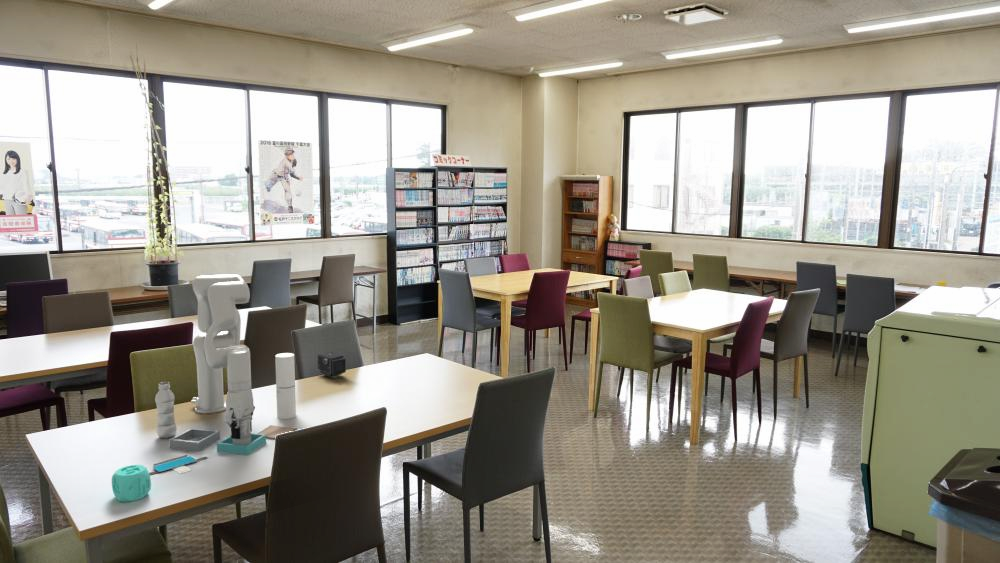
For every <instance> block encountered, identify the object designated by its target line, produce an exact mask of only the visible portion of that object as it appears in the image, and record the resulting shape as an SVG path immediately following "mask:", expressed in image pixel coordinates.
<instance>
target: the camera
mask: <svg viewBox="0 0 1000 563" xmlns="http://www.w3.org/2000/svg"><path fill="white" fill-rule="evenodd" d="M346 360H347V359H346V358H345V357H344V355H342V354H339V353H336V352H333V351H330V352H326V353H320V354H317V369H318V370H319V371H320V373H321V374H322V375H325V376H326V377H330V378H331V379H336V378H338V376H341V375H342V374H344V373H346V371H347V370H346V368H347V366H346V365H347V364H346Z"/></svg>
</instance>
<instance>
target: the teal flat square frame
mask: <svg viewBox="0 0 1000 563" xmlns="http://www.w3.org/2000/svg"><path fill="white" fill-rule="evenodd" d="M266 443H267V438H266V435H264V434H257V433H255V432H254V433H252V432H251V443H250V444H248V445H246V446H245V445H236V444H233V439H232V438H231V434H230V435H229V436H227V437H226V438H223V439H222V440H219V442H217V443H216V452H217V453H223V454H224V453H226V454H233V455H242V456H243V455H244V456H248V455H249V454H251V453H253V452H254V451H256V450H257V449H259V448H261V447H262V446H264V445H265V444H266ZM263 444H264V445H263Z"/></svg>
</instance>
